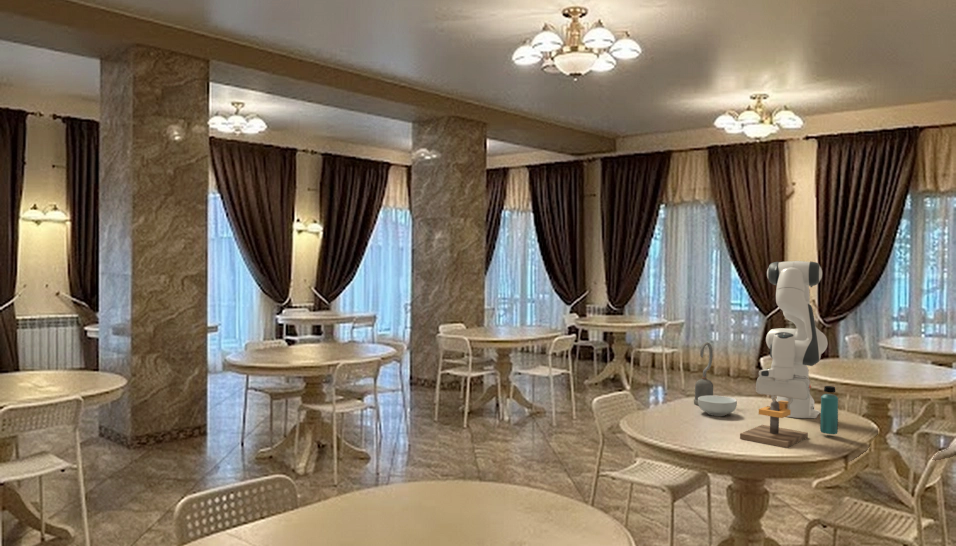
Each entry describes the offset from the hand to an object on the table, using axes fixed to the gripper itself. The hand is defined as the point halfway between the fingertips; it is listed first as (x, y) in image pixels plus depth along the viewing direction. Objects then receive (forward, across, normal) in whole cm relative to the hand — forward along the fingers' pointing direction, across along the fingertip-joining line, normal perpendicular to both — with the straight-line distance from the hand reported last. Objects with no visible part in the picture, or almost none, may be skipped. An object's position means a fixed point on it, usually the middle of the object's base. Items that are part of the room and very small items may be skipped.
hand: (781, 407), depth 287 cm
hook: (+11, +49, -35) cm, 61 cm away
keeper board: (+11, 0, +7) cm, 13 cm away
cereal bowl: (+11, +35, -18) cm, 41 cm away
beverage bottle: (+11, -14, -13) cm, 22 cm away
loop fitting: (+2, 0, +5) cm, 5 cm away
